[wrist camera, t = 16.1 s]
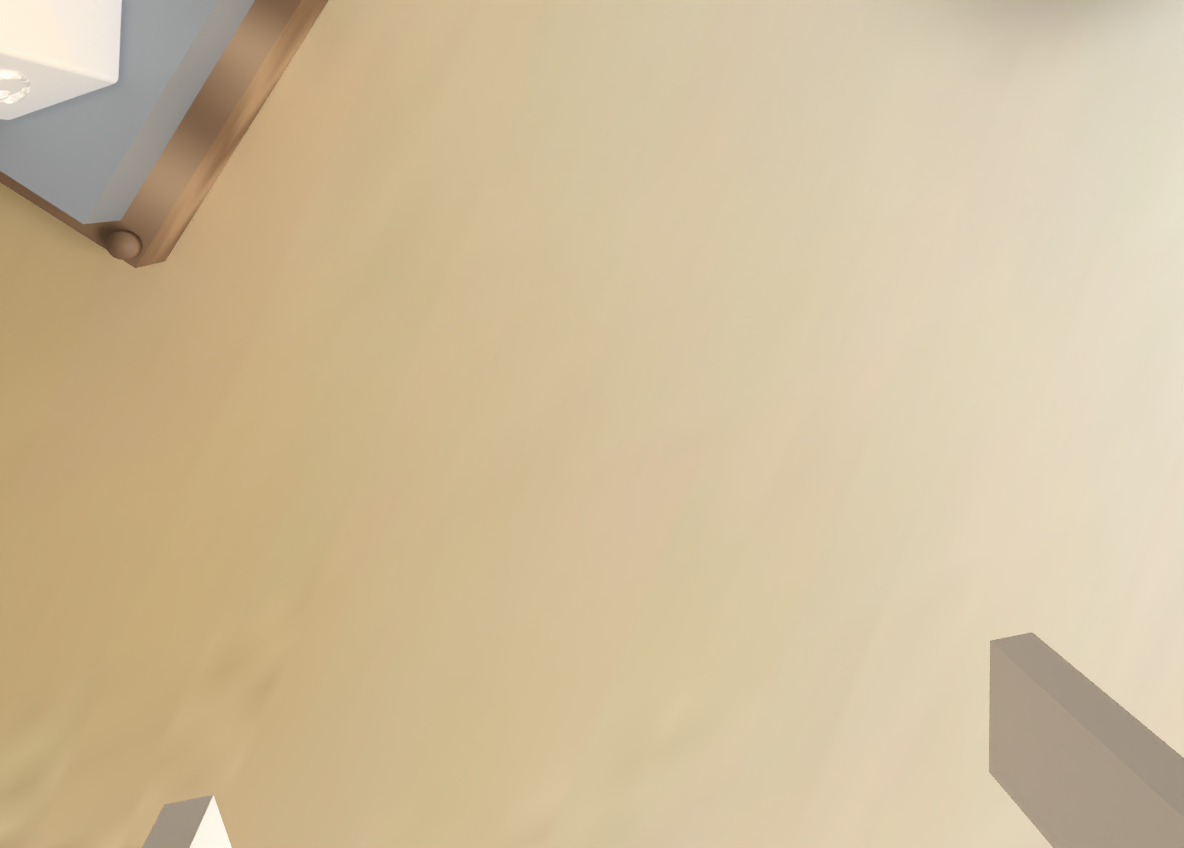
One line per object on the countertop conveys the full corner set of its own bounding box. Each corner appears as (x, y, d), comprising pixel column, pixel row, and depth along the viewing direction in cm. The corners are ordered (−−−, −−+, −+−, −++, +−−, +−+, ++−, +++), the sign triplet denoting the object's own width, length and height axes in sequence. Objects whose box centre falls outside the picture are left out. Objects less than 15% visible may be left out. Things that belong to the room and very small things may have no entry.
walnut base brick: (13, -252, 34) (-52, -312, 30) (330, -4, 38) (311, -26, 34) (-149, 58, 36) (-231, 42, 32) (164, 260, 40) (128, 269, 36)
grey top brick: (-18, -232, 31) (-79, -282, 28) (264, -15, 34) (239, -36, 31) (-159, 38, 33) (-232, 22, 30) (120, 220, 36) (83, 224, 33)
